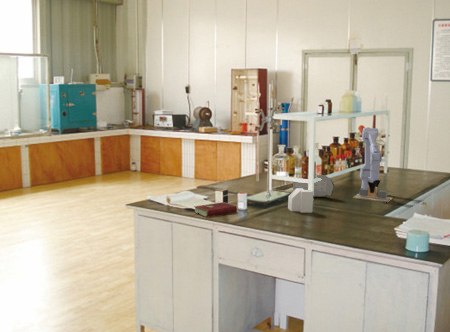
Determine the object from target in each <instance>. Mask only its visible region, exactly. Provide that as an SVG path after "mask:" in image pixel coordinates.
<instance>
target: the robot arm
mask: <svg viewBox="0 0 450 332" xmlns="http://www.w3.org/2000/svg"><path fill="white" fill-rule="evenodd" d="M361 132H362V133H361V139H362V141H364V165H362V166H361V167H360V168H359V170H360V171H359V177H360V178H359V179H361V187H360V189H361V188H366V189H368V187H369V188H370V193H374V190H375V187H377V189H378V187H379V185H380V182H381V180H380V169H381V162H382V159H383V156H382V152H381V151H380V146H379V144H377V139H378V137H379V129H378V128H377V127H376V128H375V127H374V128H372V127H371V128H370V127H363V129H362V131H361Z"/></svg>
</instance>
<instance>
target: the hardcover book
mask: <svg viewBox="0 0 450 332" xmlns="http://www.w3.org/2000/svg"><path fill="white" fill-rule="evenodd" d="M193 207H194V213H195V212H196V214H198V213H199V214H198V215H201V216H204V217H206V216H207V217H208V216H209V217H215V216H221V215H228V214H234V213H237V212H238V206H237V205H235V204H232V203H228V202H224V201H222V202H215V203H208V204H200V205H195V206H193ZM207 217H206V218H207ZM209 217H208V218H209Z"/></svg>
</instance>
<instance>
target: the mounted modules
mask: <svg viewBox="0 0 450 332" xmlns="http://www.w3.org/2000/svg"><path fill="white" fill-rule="evenodd" d="M359 194H360V195H362V196H368V189H366V188H361V187H360V188H359ZM377 197H378V198H386V197H388V190H380V189H379V190H377Z"/></svg>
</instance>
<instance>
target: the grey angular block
mask: <svg viewBox="0 0 450 332" xmlns="http://www.w3.org/2000/svg"><path fill="white" fill-rule="evenodd" d="M313 204H314V196H313V191H311V190H304V189H303V188H296V189H295V190H293V191H292V192H291V193H290V194H289V195H288V200H287V209H288V210H289V211H290V212H300V213H303V214H304V213H313Z"/></svg>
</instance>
